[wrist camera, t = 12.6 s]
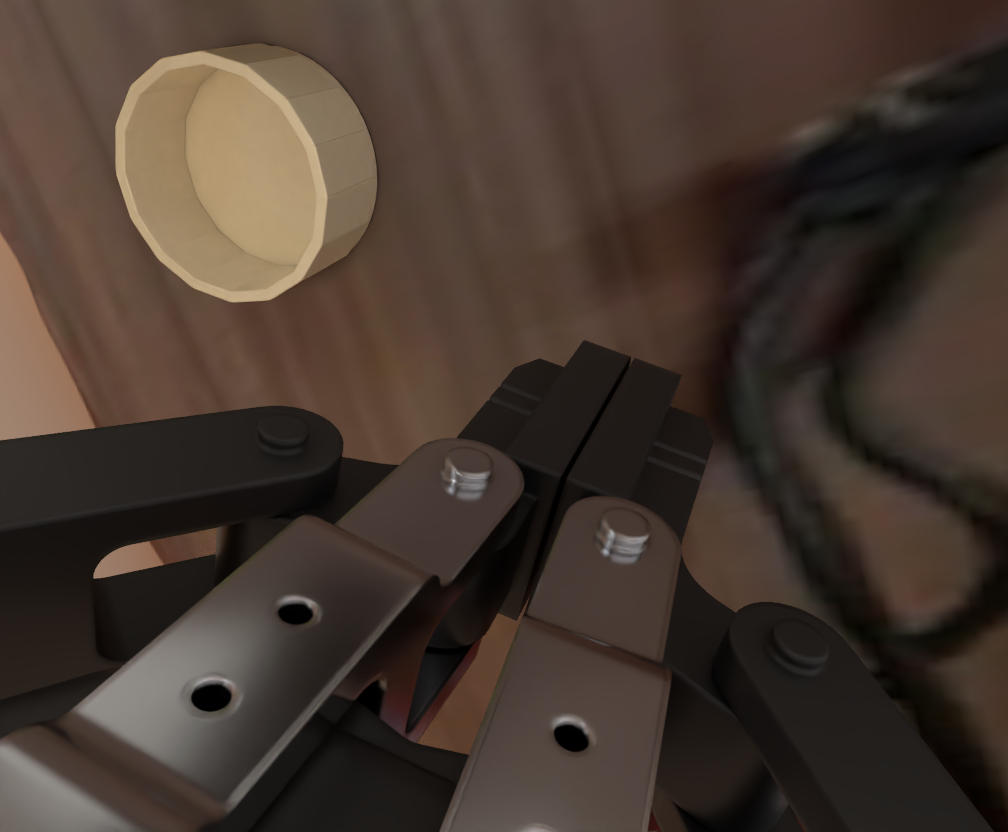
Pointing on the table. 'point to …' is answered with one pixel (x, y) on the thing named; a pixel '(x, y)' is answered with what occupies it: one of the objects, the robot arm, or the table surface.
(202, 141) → the beige round bowl
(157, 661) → the robot arm
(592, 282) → the table surface
